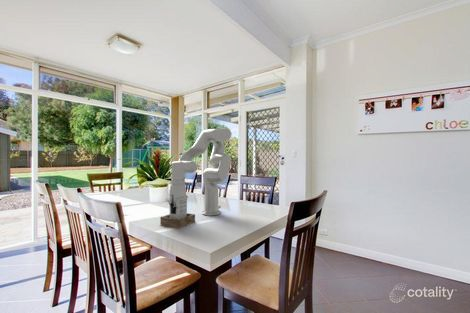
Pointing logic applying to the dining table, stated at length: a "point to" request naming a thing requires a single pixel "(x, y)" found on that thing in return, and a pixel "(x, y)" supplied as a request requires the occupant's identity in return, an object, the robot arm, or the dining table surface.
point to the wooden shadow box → (177, 221)
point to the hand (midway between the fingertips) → (178, 211)
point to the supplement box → (180, 208)
